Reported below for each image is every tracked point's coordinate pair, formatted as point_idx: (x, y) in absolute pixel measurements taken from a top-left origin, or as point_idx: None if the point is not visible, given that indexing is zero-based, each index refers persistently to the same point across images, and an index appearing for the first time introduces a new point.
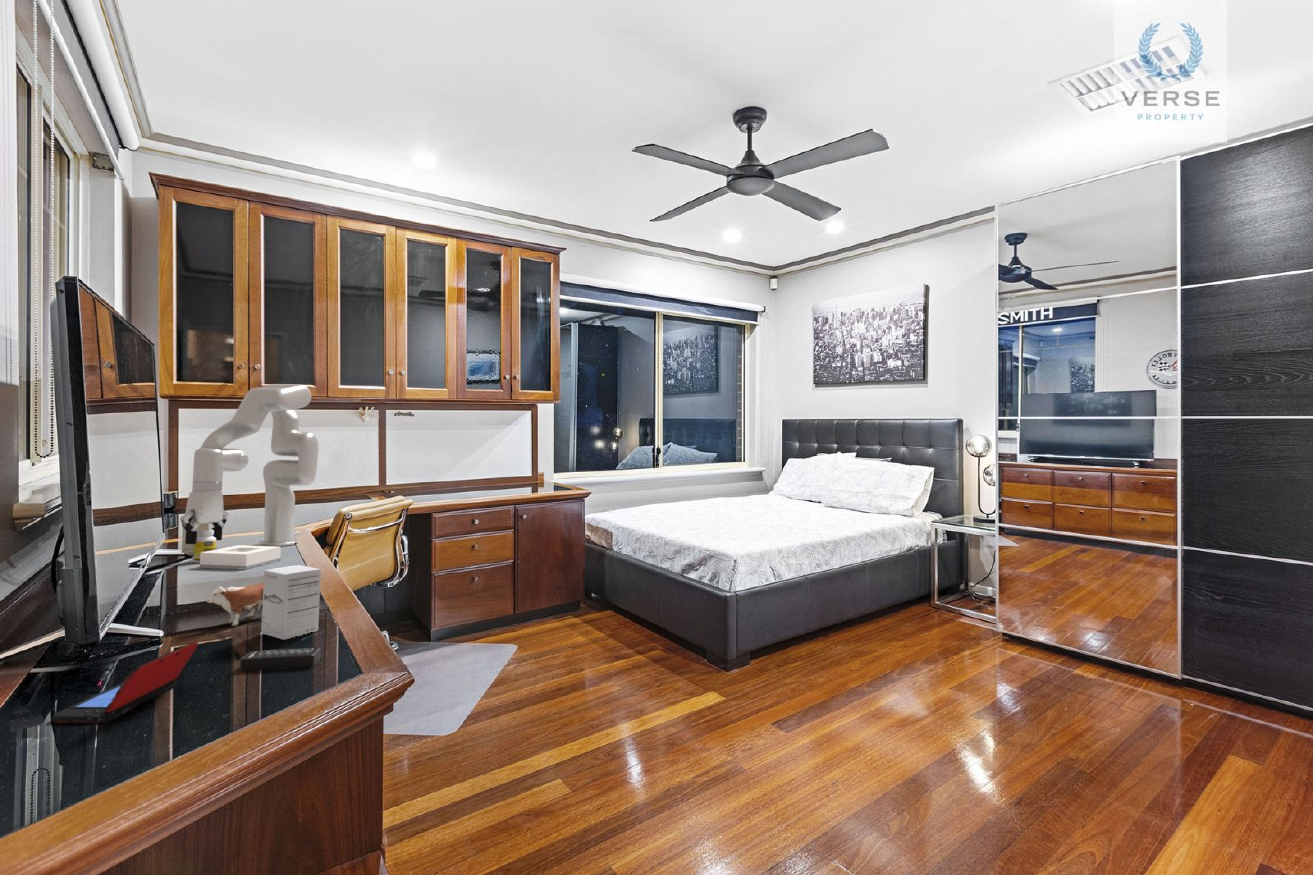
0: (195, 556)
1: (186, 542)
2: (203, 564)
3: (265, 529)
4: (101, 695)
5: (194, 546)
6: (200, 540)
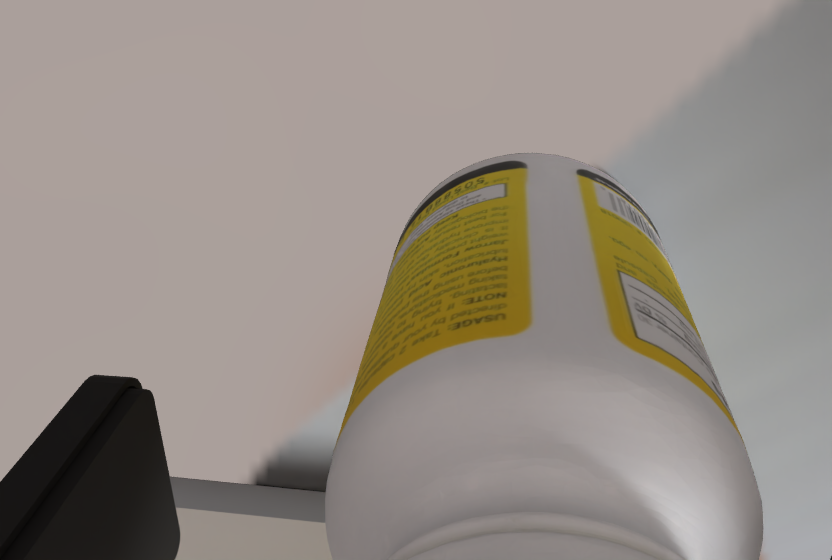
0: (388, 275)
1: (86, 408)
2: None
3: None
4: None
5: (400, 313)
6: (334, 548)
